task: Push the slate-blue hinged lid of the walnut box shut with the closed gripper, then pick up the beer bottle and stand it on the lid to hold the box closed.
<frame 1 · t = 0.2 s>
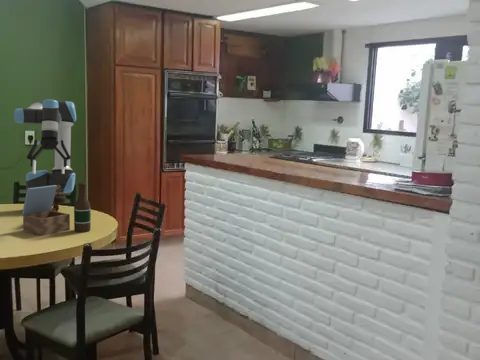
hand: (48, 173, 244), 28 cm above the table, tool tilted 15°, fingers open, 13 cm apart
beer bottle: (82, 231, 248), on the table
box: (46, 230, 245), on the table
lid: (39, 199, 246), point 15 cm above the table, hinge at 70.0°
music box: (55, 222, 264), on the table
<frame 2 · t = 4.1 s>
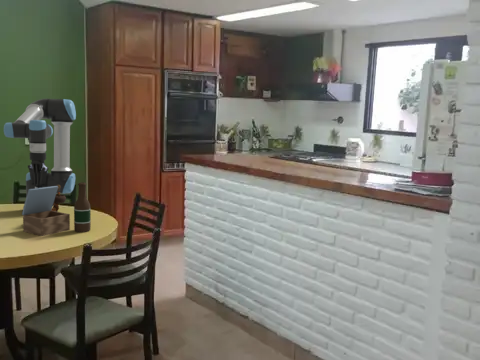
hand: (38, 199, 246), 15 cm above the table, tool pointing down, fingers closed
lid: (40, 200, 245), point 15 cm above the table, hinge at 65.9°, touching box, gripper
everything else where it was.
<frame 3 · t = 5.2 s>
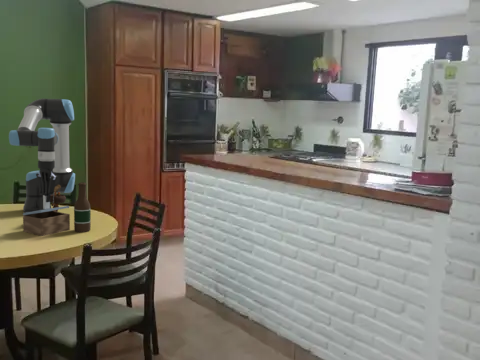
hand: (46, 208, 243), 11 cm above the table, tool pointing down, fingers closed
lid: (46, 210, 244), point 10 cm above the table, hinge at 13.2°, touching gripper
everything else where it was.
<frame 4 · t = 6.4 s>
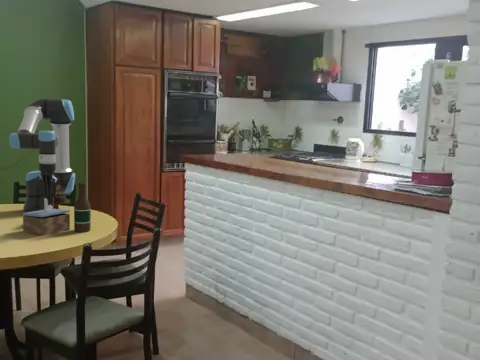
hand: (48, 211, 243), 10 cm above the table, tool pointing down, fingers closed
lid: (46, 212, 244), point 9 cm above the table, hinge at 4.3°, touching gripper
everything else where it was.
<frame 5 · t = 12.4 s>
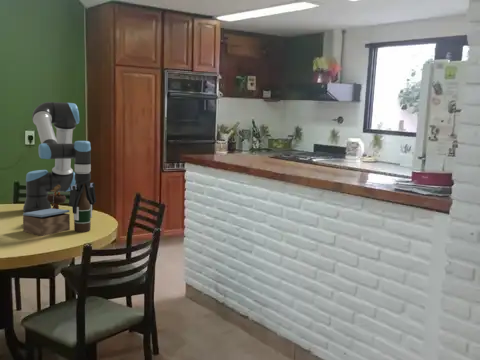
hand: (83, 218, 247), 6 cm above the table, tool pointing down, fingers closed on beer bottle, 8 cm apart
beer bottle: (82, 231, 248), on the table, touching gripper
lid: (46, 212, 244), point 9 cm above the table, hinge at 4.3°
everything else where it was.
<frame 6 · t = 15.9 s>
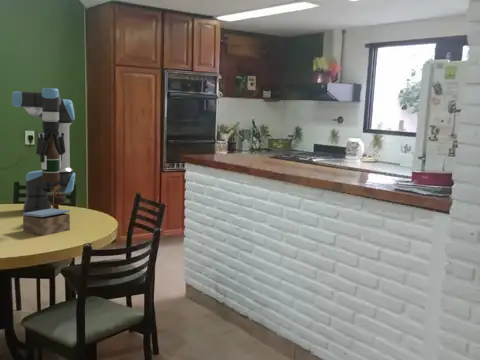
hand: (51, 168, 241), 31 cm above the table, tool pointing down, fingers closed on beer bottle, 8 cm apart
beer bottle: (51, 181, 243), point 24 cm above the table, touching gripper
everything else where it was.
when the fingers open (17 cm above the table, at t = 19.3 s): beer bottle stays where it is, resting on lid.
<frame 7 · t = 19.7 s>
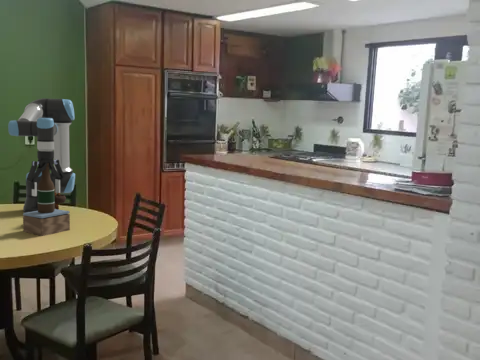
hand: (46, 194, 243), 18 cm above the table, tool pointing down, fingers open, 13 cm apart
beer bottle: (46, 212, 244), point 9 cm above the table, touching lid
lid: (46, 213, 244), point 9 cm above the table, hinge at 2.0°, touching beer bottle
everything else where it was.
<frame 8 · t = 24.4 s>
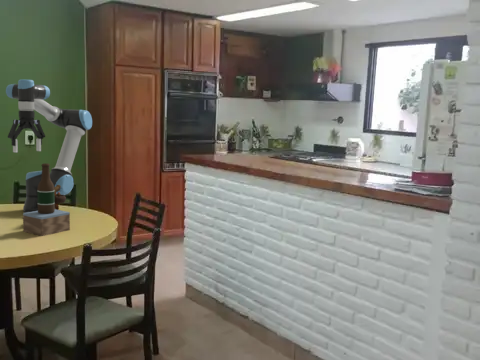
hand: (27, 151, 258), 37 cm above the table, tool pointing down, fingers open, 13 cm apart
lid: (46, 213, 244), point 8 cm above the table, hinge at 0.0°, touching box, beer bottle
everything else where it was.
at the end: lid at +0° (first picture: +70°); beer bottle inside the target area on the box (0.3 cm from its centre), point 8.8 cm above the box's base; beer bottle tilted 0° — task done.
